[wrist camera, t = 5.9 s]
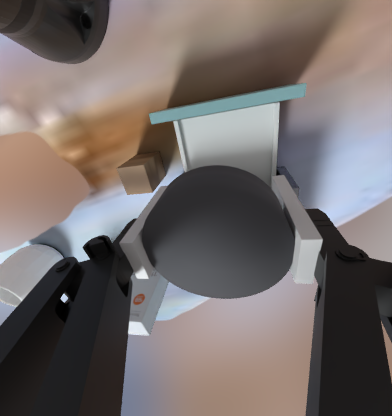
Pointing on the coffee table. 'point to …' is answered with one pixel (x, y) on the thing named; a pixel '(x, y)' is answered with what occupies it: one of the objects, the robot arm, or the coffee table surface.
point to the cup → (25, 271)
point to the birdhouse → (231, 130)
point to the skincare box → (146, 302)
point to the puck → (219, 233)
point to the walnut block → (142, 173)
